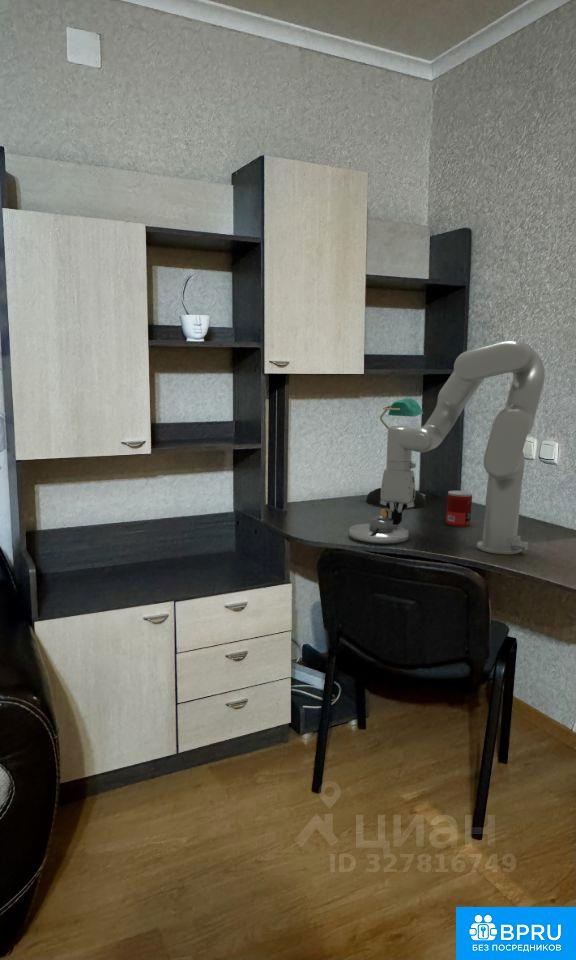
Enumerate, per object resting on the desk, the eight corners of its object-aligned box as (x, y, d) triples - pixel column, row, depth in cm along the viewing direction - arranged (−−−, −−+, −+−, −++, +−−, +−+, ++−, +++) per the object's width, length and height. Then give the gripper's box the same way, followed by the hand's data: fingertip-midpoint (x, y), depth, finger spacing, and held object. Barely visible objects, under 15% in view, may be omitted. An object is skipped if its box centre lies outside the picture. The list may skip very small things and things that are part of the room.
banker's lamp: (421, 512, 253) (427, 402, 247) (359, 506, 260) (364, 399, 254) (430, 499, 278) (436, 399, 271) (373, 494, 285) (378, 396, 278)
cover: (394, 529, 214) (395, 515, 213) (388, 534, 208) (389, 519, 207) (373, 526, 217) (373, 512, 216) (366, 531, 210) (367, 517, 210)
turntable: (413, 532, 218) (414, 511, 217) (401, 546, 202) (402, 523, 200) (358, 526, 224) (359, 505, 223) (341, 539, 208) (342, 516, 207)
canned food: (470, 527, 231) (473, 495, 229) (446, 526, 232) (448, 493, 230) (469, 522, 238) (471, 491, 236) (445, 521, 240) (447, 489, 238)
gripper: (425, 466, 215) (422, 524, 218) (378, 463, 221) (376, 519, 224) (419, 469, 208) (417, 529, 211) (371, 466, 214) (369, 524, 217)
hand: (396, 524), depth 218 cm, fingers closed
